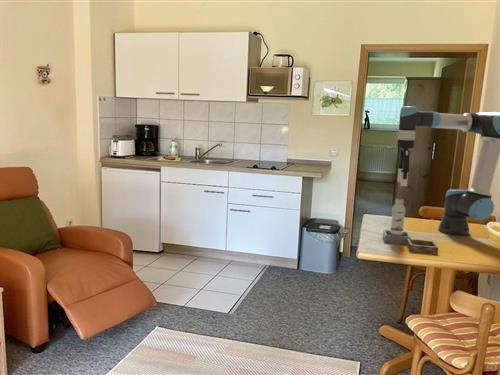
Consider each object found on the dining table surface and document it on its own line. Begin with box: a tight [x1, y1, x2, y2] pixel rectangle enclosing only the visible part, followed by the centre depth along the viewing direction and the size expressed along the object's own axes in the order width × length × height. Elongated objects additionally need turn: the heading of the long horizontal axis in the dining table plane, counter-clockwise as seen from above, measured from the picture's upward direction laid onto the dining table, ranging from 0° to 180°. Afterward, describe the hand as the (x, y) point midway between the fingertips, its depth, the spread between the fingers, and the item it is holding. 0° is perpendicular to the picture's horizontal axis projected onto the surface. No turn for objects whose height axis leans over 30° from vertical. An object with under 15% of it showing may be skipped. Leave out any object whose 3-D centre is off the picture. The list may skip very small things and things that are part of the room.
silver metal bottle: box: [389, 197, 407, 236], centre depth 217 cm, size 6×7×20 cm
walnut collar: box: [405, 238, 439, 255], centre depth 206 cm, size 12×11×3 cm
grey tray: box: [382, 229, 412, 245], centre depth 219 cm, size 12×11×4 cm
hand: (401, 184), depth 214 cm, fingers open, 13 cm apart
